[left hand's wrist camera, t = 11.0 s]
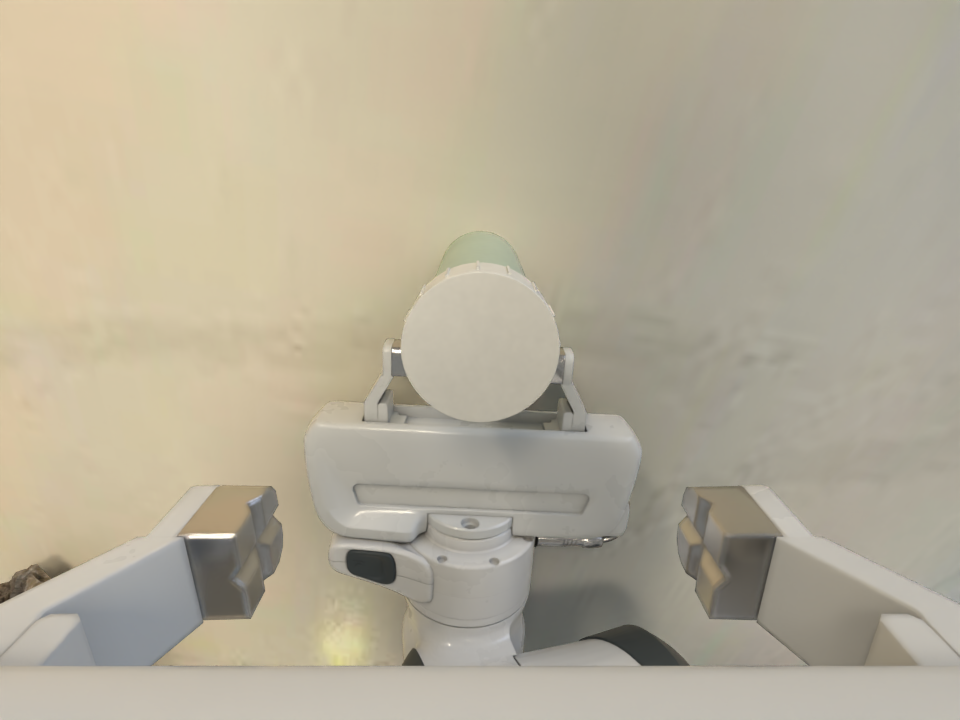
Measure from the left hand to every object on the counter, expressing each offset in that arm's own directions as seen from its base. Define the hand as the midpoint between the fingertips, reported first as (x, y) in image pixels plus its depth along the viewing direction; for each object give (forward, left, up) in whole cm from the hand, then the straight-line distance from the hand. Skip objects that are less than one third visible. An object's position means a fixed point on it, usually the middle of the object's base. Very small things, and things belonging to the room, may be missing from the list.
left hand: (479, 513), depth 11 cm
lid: (0, 0, -10) cm, 10 cm away
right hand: (+2, -3, -20) cm, 20 cm away
